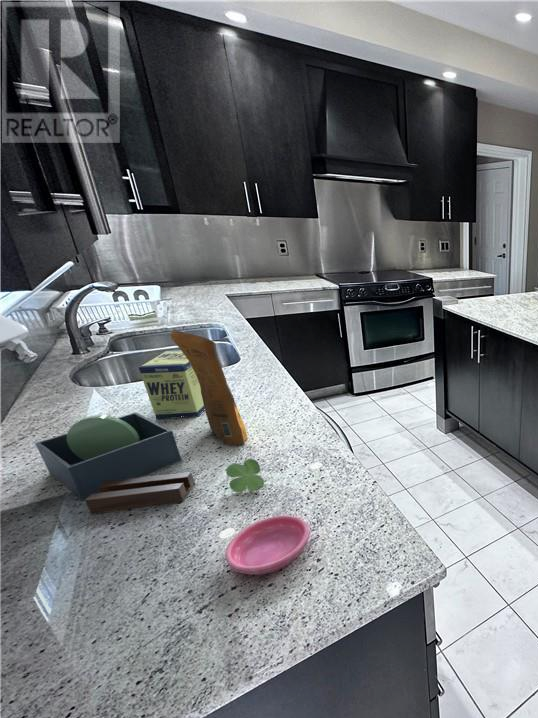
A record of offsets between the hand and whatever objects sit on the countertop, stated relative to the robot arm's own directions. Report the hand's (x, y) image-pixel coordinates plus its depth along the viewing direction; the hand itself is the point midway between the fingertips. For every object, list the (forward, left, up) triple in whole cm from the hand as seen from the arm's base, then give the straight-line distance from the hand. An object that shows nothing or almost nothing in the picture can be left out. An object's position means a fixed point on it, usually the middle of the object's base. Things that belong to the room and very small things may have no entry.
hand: (12, 368), depth 78 cm
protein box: (+31, +14, -25) cm, 42 cm away
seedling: (+19, -38, -25) cm, 49 cm away
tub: (+7, -6, -25) cm, 26 cm away
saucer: (+9, -59, -25) cm, 65 cm away
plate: (+7, -6, -18) cm, 20 cm away
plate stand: (+5, -24, -25) cm, 35 cm away
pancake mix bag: (+27, -12, -25) cm, 39 cm away
